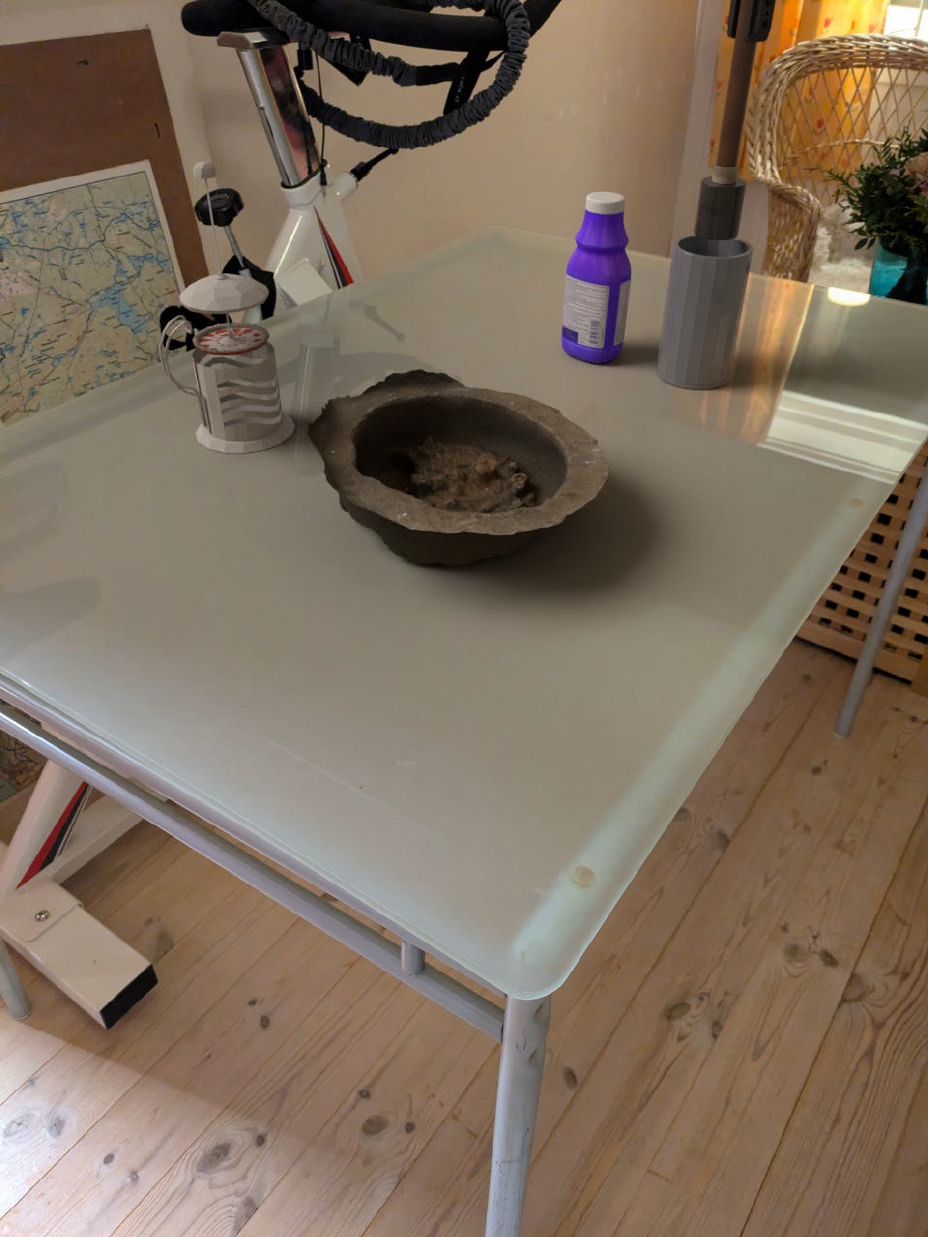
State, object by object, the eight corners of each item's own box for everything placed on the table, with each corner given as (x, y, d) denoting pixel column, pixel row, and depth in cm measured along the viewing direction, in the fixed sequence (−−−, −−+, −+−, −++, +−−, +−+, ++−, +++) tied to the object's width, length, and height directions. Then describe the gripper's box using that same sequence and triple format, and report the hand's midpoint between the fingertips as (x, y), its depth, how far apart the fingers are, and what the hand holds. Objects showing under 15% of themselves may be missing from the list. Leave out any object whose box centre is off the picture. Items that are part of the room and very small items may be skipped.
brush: (721, 225, 99) (762, -31, 85) (746, 237, 96) (793, -27, 82) (685, 230, 97) (721, -29, 84) (709, 242, 94) (750, -25, 81)
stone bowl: (275, 479, 87) (270, 383, 82) (517, 445, 96) (526, 356, 91) (366, 631, 69) (367, 521, 64) (652, 571, 79) (674, 470, 73)
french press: (310, 437, 94) (280, 166, 79) (196, 467, 90) (140, 185, 74) (272, 400, 101) (238, 142, 85) (165, 426, 96) (107, 158, 81)
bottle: (631, 355, 110) (649, 196, 99) (602, 370, 107) (617, 207, 96) (581, 339, 114) (593, 184, 103) (551, 353, 111) (560, 194, 100)
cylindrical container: (703, 355, 110) (724, 230, 101) (743, 382, 104) (769, 252, 96) (643, 365, 108) (659, 238, 99) (680, 394, 102) (701, 261, 93)
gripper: (884, -220, 71) (829, 47, 82) (773, -210, 81) (737, 27, 92) (802, -222, 69) (756, 52, 80) (697, -211, 79) (670, 32, 90)
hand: (746, 38), depth 86 cm, fingers closed on brush, 2 cm apart
